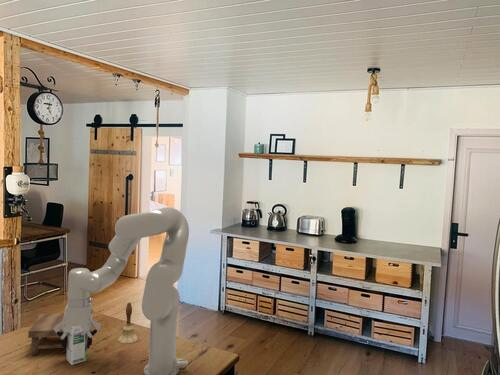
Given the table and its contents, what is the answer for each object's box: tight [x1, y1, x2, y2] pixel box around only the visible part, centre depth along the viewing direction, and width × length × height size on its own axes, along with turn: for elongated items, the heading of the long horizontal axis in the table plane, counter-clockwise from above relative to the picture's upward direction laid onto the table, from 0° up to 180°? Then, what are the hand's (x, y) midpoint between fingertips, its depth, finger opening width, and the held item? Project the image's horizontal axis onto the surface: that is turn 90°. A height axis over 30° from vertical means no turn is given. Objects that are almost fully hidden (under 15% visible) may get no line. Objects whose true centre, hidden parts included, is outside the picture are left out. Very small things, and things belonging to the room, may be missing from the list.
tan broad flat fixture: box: [27, 312, 67, 357], centre depth 161 cm, size 18×18×10 cm
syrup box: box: [66, 325, 88, 366], centre depth 149 cm, size 6×6×14 cm
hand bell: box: [117, 302, 139, 345], centre depth 169 cm, size 8×8×16 cm
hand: (76, 347), depth 149 cm, fingers open, 7 cm apart
